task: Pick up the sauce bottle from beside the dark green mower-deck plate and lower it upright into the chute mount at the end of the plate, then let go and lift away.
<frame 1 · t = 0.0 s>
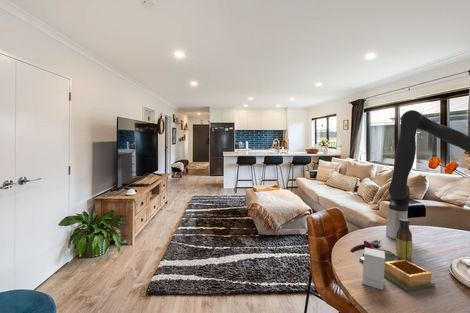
supplement box: (372, 282, 95), on the table
sauce bottle: (403, 259, 114), on the table
chute mount: (393, 272, 103), on the table
pliers: (368, 249, 126), on the table
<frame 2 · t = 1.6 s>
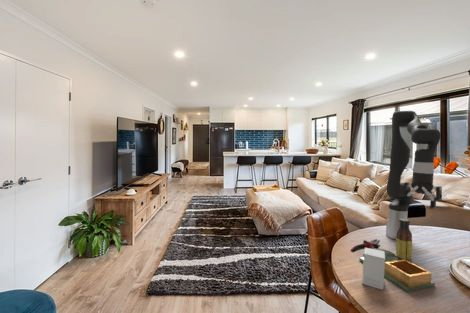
hand: (420, 206, 110), 27 cm above the table, tool pointing down, fingers open, 8 cm apart
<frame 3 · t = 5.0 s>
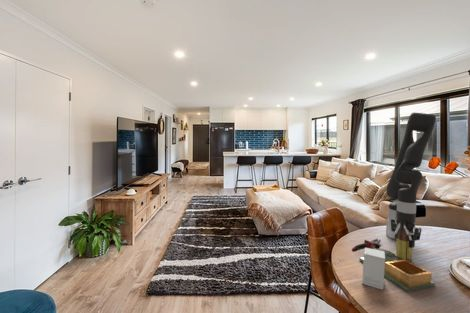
hand: (404, 244, 114), 8 cm above the table, tool pointing down, fingers closed on sauce bottle, 6 cm apart
sauce bottle: (403, 259, 114), on the table, touching gripper
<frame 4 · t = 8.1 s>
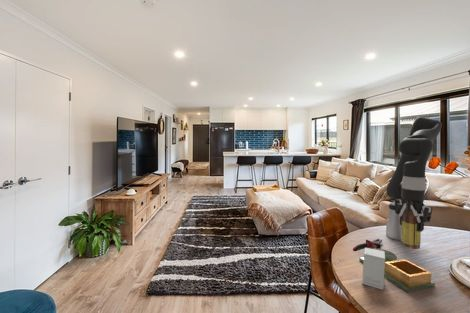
hand: (411, 228, 96), 22 cm above the table, tool pointing down, fingers closed on sauce bottle, 6 cm apart
sauce bottle: (410, 246, 96), point 14 cm above the table, touching gripper
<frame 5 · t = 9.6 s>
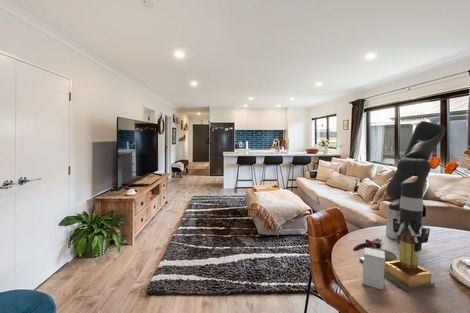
hand: (408, 247, 96), 14 cm above the table, tool pointing down, fingers closed on sauce bottle, 6 cm apart
sauce bottle: (407, 265, 97), point 6 cm above the table, touching gripper
when the fingers open (10 cm above the table, at t = 11.3 s): sauce bottle stays where it is, resting on chute mount.
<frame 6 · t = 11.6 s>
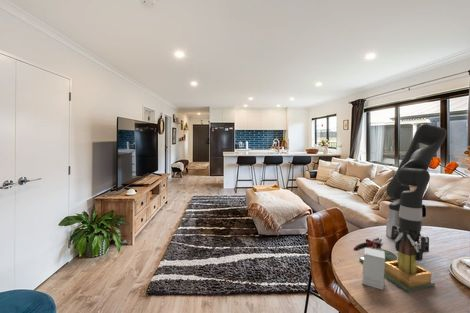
hand: (407, 255, 96), 11 cm above the table, tool pointing down, fingers open, 8 cm apart
sauce bottle: (406, 276, 97), point 1 cm above the table, touching chute mount
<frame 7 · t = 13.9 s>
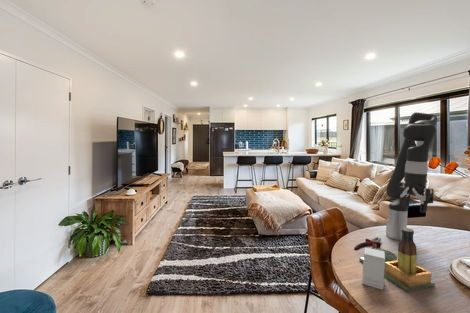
hand: (412, 209, 100), 29 cm above the table, tool pointing down, fingers open, 8 cm apart
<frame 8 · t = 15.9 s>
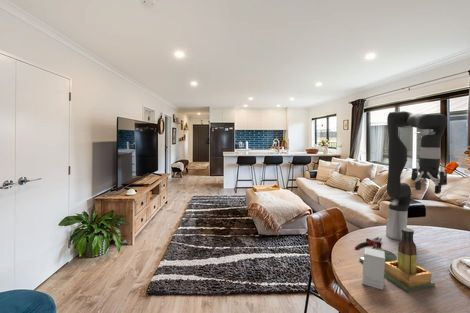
hand: (427, 191, 110), 34 cm above the table, tool pointing down, fingers open, 8 cm apart
at the end: sauce bottle 0.3 cm from the target spot, point 1.3 cm above the table; sauce bottle tilted 0°; the gripper is holding nothing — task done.
